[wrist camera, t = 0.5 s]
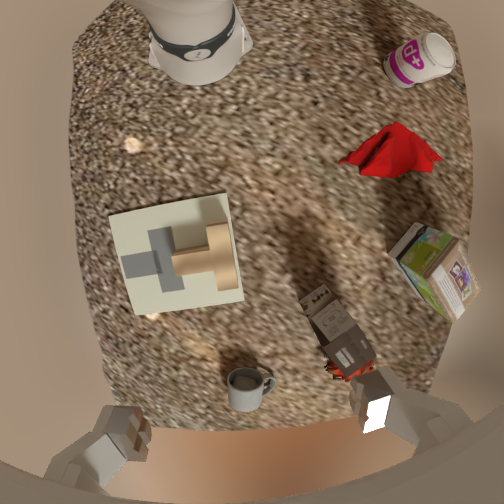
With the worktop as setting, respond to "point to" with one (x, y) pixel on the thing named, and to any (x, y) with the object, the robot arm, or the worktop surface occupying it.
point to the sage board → (170, 254)
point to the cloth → (393, 153)
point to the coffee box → (337, 331)
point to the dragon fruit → (337, 373)
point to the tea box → (436, 269)
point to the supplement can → (419, 60)
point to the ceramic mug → (247, 388)
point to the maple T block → (210, 257)
